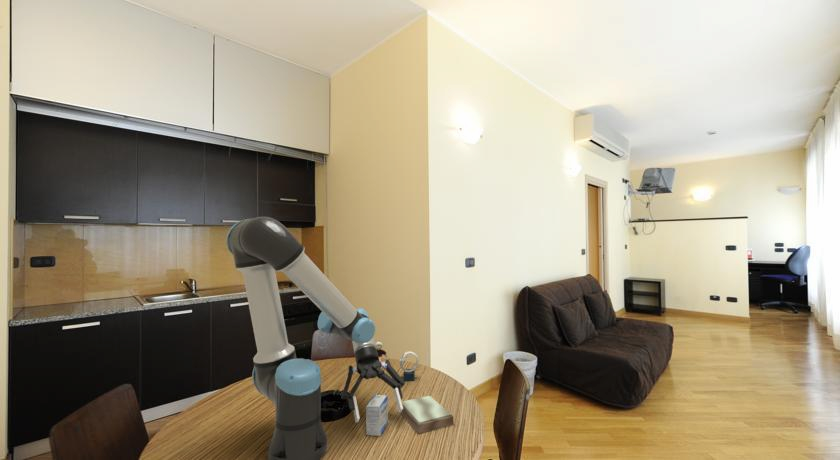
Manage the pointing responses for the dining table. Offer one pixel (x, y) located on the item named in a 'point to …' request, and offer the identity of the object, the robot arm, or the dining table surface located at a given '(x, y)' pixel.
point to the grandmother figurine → (380, 351)
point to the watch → (408, 373)
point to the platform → (426, 414)
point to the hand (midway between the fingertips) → (379, 415)
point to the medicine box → (377, 415)
